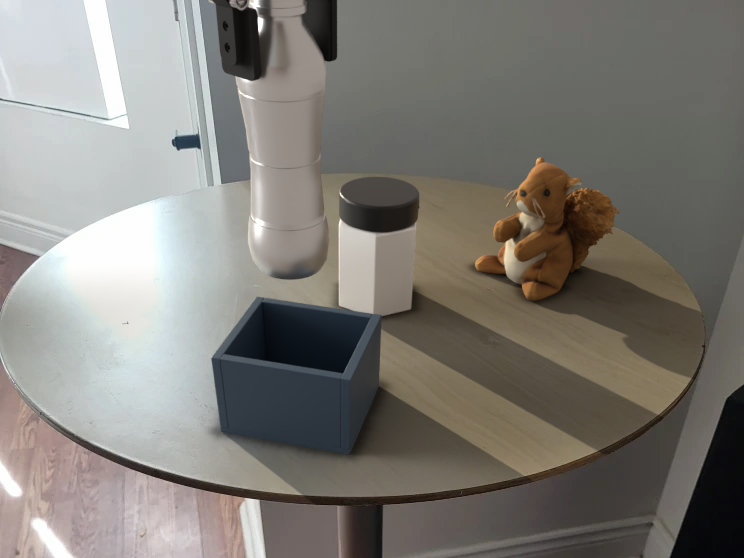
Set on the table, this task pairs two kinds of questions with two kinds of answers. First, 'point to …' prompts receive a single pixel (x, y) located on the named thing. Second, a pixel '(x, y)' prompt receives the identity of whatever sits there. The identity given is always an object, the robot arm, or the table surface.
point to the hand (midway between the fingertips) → (281, 63)
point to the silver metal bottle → (286, 144)
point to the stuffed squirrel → (548, 230)
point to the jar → (377, 244)
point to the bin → (298, 374)
